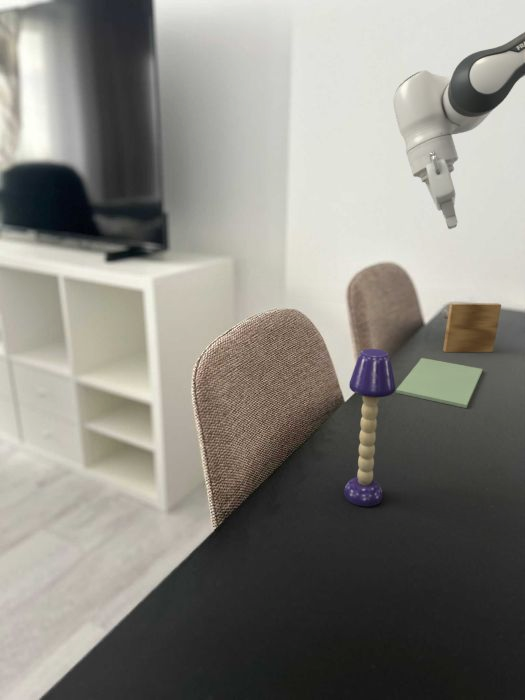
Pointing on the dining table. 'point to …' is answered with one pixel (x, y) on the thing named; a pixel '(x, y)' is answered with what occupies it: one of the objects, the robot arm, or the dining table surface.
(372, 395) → the toy lamp
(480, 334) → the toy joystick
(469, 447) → the dining table surface
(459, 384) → the mat
